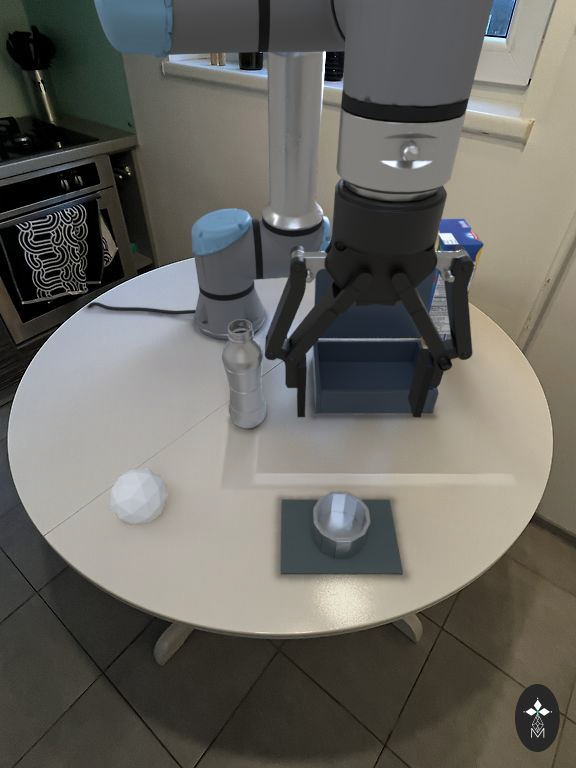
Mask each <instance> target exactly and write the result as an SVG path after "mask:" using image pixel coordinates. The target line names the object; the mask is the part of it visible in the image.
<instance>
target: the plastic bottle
mask: <svg viewBox="0 0 576 768" xmlns="http://www.w3.org/2000/svg"><path fill="white" fill-rule="evenodd" d="M254 335H255V333H253V327H252V323H251V322H250V321H248V320H245V319H238V320H234V321H232V322H231V323H230V324H229V325H228V339H229V340H227V342H226V343H225V345H224V347H223V348H222V352H221V361H222V365H223V368H224V371H225V374H226V379H227V382H228V387H229V402H228V414H229V417H230V420H231V422H232V423H234V425H235V426H238V427H239V428H241V429H252V428H256V427H257V426H258V425H260V424H261V423H263V422H264V420H265V418H266V414H267V409H268V408H267V407H268V406H267V402H266V398H265V395H264V392H263V386H262V370H263V362H264V361H263V360H264V352H263V349H262V346H261V345H260V343H259V341H257V340H256V339H255V338H254Z"/></svg>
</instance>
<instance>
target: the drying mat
mask: <svg viewBox="0 0 576 768" xmlns="http://www.w3.org/2000/svg"><path fill="white" fill-rule="evenodd" d="M318 500H319V499H281V516H280V517H281V519H280V533H281V534H280V575H403V574H404V570H403V565H402V559H401V554H400V548H399V543H398V539H397V537H398V536H397V532H396V526H395V522H394V517H393V511H392V506H391V501H390V499H361V500H362V501H363V502H364V504H365V505H366V506H367V508H368V509H369V515H370V526H369V531H368V535H367V539H366V541H365V543H364V546H363V548H362V550H361V551H360V552H358V553H357V554H355V555H353V556H352V557H350V558H349V557H348V558H332V557H331V556H328V555H327V554H325V553H323V552H321V551H320V550H319V548H318V547H317V545H316V544H315V542H314V541H313V538H312V519H313V508H314V507H315V505H316V503H317V502H318Z"/></svg>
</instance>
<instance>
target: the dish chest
mask: <svg viewBox="0 0 576 768" xmlns="http://www.w3.org/2000/svg"><path fill="white" fill-rule="evenodd" d="M421 348H424V345H423V342H422V341H421V339H318V340H317V342H316V343H315V344H314V345H313V346H312V354H311V363H312V364H311V365H312V380H313V381H312V382H313V398H314V413H315V414H412V411H411V407H410V404H409V400H408V396H409V392H410V388H411V384H412V380H413V376H414V372H415V368H416V364H417V360H418V356H419V352H420V349H421ZM439 394H440V392H439V389H438V387H437V388H429V391H428V394H427V398H426V401H425V405H424V408H423V411H422V414H433V412H434V410H435V407H436V403H437V400H438V397H439Z"/></svg>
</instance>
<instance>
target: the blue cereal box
mask: <svg viewBox="0 0 576 768" xmlns="http://www.w3.org/2000/svg"><path fill="white" fill-rule="evenodd" d="M458 245H460V246H463V247H464V248H465V250H466V251H467V253H468V255H469V256H470V258H471V260H472V261H473V263H474V269H473V272H472V275H471V278H470V281H469V284H468V287H467V289H468V294H469V292H470V289H471V286H472V283H473V280H474V277H475V273H476V270H477V268H478V263H479V261H480V258H481V255H482V251H483V248H484V246H485V244H484V243H483V241H482V240H481V238H480V237H479V236H478V234H477V233H476V232H475V231H474V230H473V228H472V227H471V226H470V224H469V223H468V222H467V220H466V219H465V218H442V219H441V223H440V227H439V231H438V236H437V239H436V242H435V251H450V250H451V249H452V248H453V247H455V246H458ZM427 311H428V313H429V315H430V317H431V319H432V320H433V322H434V324H435V326H436V328H437V330H438V332H439V334H440V336H441V338H442V340H447V339H450V338H451V335H450V326H449V318H448V309H447V301H446V292H445V284H444V280H442V278H441V276H440V274H439V272H438V269H436V273H435V278H434V282H433V287H432V292H431V296H430V301H429V306H428V310H427ZM420 340H421V342H422V341H424V340H423V338H420Z"/></svg>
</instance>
